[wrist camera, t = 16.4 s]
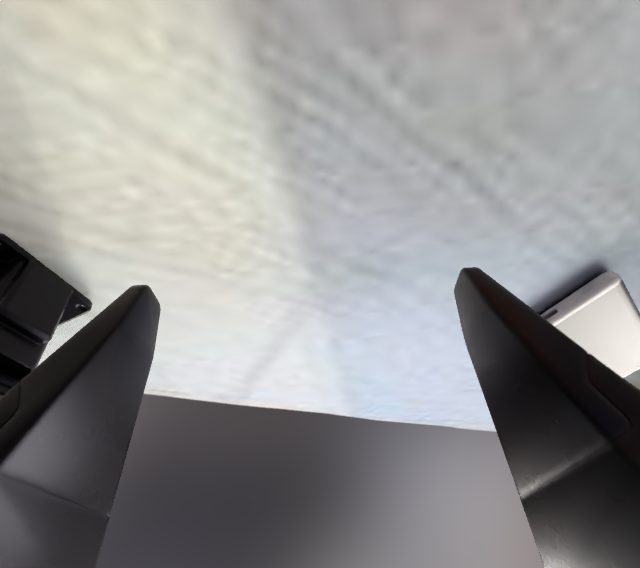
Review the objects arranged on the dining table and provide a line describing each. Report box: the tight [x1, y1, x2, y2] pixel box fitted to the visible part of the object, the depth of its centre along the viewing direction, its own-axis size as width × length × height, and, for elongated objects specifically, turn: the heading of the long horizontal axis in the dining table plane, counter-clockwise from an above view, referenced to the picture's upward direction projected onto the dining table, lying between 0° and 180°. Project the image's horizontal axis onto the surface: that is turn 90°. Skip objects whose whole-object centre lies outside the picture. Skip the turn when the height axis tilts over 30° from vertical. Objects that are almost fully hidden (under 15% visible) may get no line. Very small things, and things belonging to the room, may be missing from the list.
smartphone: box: [540, 271, 640, 378], centre depth 42 cm, size 13×27×2 cm, turn 47°
